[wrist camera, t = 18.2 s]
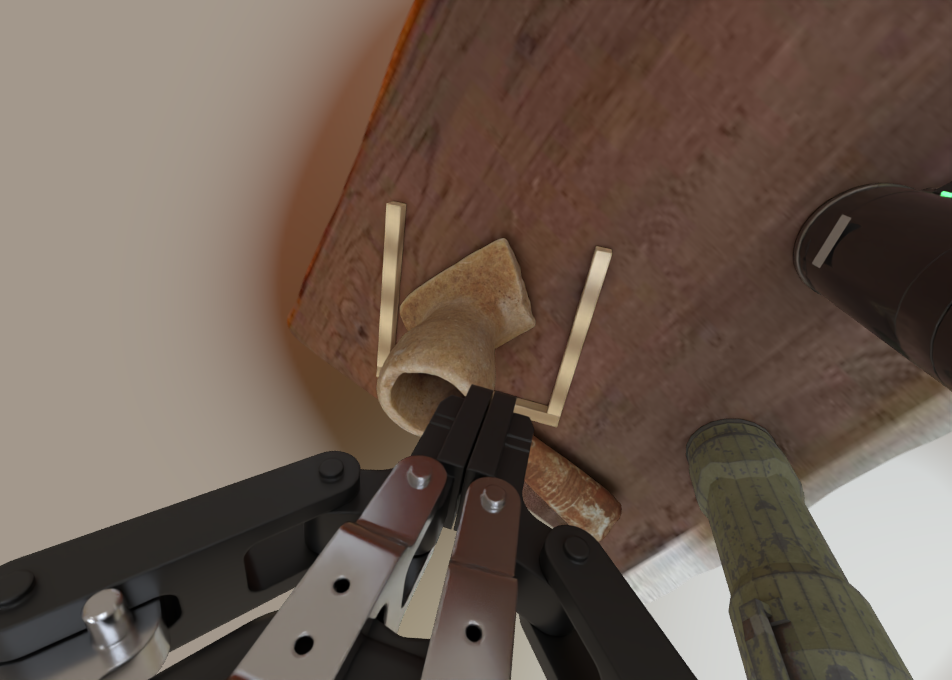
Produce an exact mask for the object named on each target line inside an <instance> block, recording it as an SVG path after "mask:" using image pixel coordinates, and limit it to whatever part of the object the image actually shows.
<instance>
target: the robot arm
mask: <svg viewBox="0 0 952 680" xmlns="http://www.w3.org/2000/svg"><path fill="white" fill-rule="evenodd" d="M793 257H794V265H795V269H796V271H797V274H798V275H799V277H800V279H801V280H802V281H803V282H804V283H805V284H806V285H807V286H808V287H809V288H811V289H812V290H813V291H815V292H816V293H818V294H820V295H822V296H824V297H825V298H826V299H828V300H829V301H830V302H831V303H833V304H834V305H835V306H837V307H838V308H839V309H841V310H842V311H843V312H845V313H846V314H848V315H849V316H850V317H852V318H853V319H854V320H856V321H857V322H858V323H860V324H861V325H862V326H864V327H865V328H866V329H868V330H869V331H870V332H872V333H873V334H875V335H876V336H877V337H879V338H880V339H881V340H883V341H884V342H885V343H887V344H888V345H889V346H891V347H892V348H893V349H895V350H896V351H897V352H899V353H900V354H902V355H903V356H904V357H906V358H907V359H908V360H910V361H911V362H912V363H914V364H915V365H916V366H918V367H919V368H921V369H922V370H923V371H925V372H926V373H927V374H929V375H930V376H932V377H933V378H934V379H936V380H937V381H938V382H940V383H941V384H942V385H944V386H945V387H946V388H948V389H949V390H950V391H952V182H950V183H948V184H946V185H944V186H942V187H940V188H939V189H935V188H927V189H923V190H916V189H914V188H911V187H908V186H903V185H898V184H891V183H875V184H868V185H863V186H859V187H856V188H853V189H850V190H847V191H845V192H843V193H841V194H839V195H837V196H835V197H833V198H832V199H830V200H829V201H827V202H826V203H824V204H823V205H822V206H821V207H819V208H818V209H817V210H816V211H815V212H814V213H813V214H812V215H811V216H810V217H809V219H808V220H807V221H806V222H805V224H804V225H803V227H802V229H801V231H800V232H799V234H798V237H797V239H796V242H795V246H794V254H793ZM493 392H494V390H491V389H488V388H484V387H481V386H477V385H473V384H471V386H470V388H469V390H468V393H467V395H466V397H465V398H461V397H458V396H454V395H450V396H449V397H447V398H446V399H444V400H443V401H441V402H440V403H439V405H438V407H437V409H436V411H435V413H434V415H433V416H432V418H431V420H430V422H429V424H428V425H427V427H426V429H425V431H424V433H423V434H422V436H421V438H420V440H419V442H418V444H417V445H416V447H415V449H414V451H413V453H412V454H411V456H409V457H406V458H404V459H402V460H401V461H399V462H398V463H397V464H396V466H395V467H394V468H392V469H387V470H364V469H363V470H362V469H360V465H359V463H358V461H357V460H356V459H355V458H354V457H353V456H352V455H350V454H348V453H345V452H341V451H329V452H324V453H320V454H317V455H315V456H311V457H309V458H306V459H303V460H300V461H297V462H295V463H292V464H289V465H286V466H283V467H280V468H277V469H274V470H271V471H268V472H265V473H263V474H260V475H257V476H254V477H251V478H248V479H245V480H242V481H240V482H237V483H234V484H231V485H228V486H225V487H223V488H219V489H217V490H214V491H211V492H208V493H205V494H202V495H199V496H196V497H194V498H191V499H188V500H185V501H182V502H179V503H176V504H173V505H171V506H168V507H165V508H162V509H159V510H156V511H153V512H150V513H147V514H145V515H142V516H139V517H136V518H133V519H130V520H127V521H124V522H122V523H119V524H116V525H113V526H110V527H107V528H104V529H101V530H99V531H96V532H93V533H90V534H87V535H84V536H81V537H79V538H76V539H73V540H70V541H67V542H64V543H61V544H58V545H55V546H52V547H50V548H47V549H44V550H41V551H38V552H35V553H32V554H29V555H27V556H24V557H21V558H18V559H15V560H13V561H10V562H8V563H6V564H3V565H1V566H0V680H511V670H512V657H513V645H514V632H515V621H516V612H517V613H518V614H519V617H520V623H521V626H522V628H523V630H524V632H525V635H526V637H527V639H528V641H529V643H530V645H531V647H532V649H533V651H534V653H535V655H536V658H537V660H538V661H539V664H540V666H541V668H542V670H543V672H544V674H545V676H546V678H547V680H697V678H696V677H695V675H694V674H693V673H692V672H691V670H690V668H689V667H688V666H687V665H686V663H685V662H684V660H683V659H682V657H681V656H680V655H679V653H678V652H677V650H676V649H675V648H674V646H673V645H672V644H671V642H670V641H669V639H668V638H667V637H666V635H665V634H664V632H663V631H662V630H661V628H660V627H659V626H658V624H657V623H656V621H655V620H654V619H653V617H652V616H651V614H650V613H649V612H648V611H647V609H646V608H645V606H644V605H643V603H642V602H641V601H640V599H639V598H638V596H637V595H636V594H635V592H634V591H633V590H632V588H631V587H630V585H629V584H628V583H627V581H626V580H625V578H624V577H623V576H622V574H621V573H620V572H619V570H618V569H617V567H616V566H615V565H614V563H613V562H612V560H611V559H610V558H609V556H608V555H607V553H606V552H605V551H604V549H603V548H602V547H601V545H600V544H599V542H598V541H597V540H596V539H595V538H594V537H593V536H592V535H591V534H589V533H588V532H587V531H585V530H583V529H581V528H579V527H576V526H572V525H560V526H557V527H554V528H553V529H551V528H550V527H548V526H547V525H545V524H544V523H542V522H541V521H539V520H538V519H536V518H535V517H534V516H533V515H532V514H531V513H530V512H529V510H528V509H527V507H526V506H525V503H524V501H523V497H522V489H523V484H524V479H525V474H526V469H527V463H528V458H529V453H530V448H531V442H532V438H533V433H534V428H533V425H532V422H531V419H530V417H528V416H525V415H521V414H518V413H514V408H515V404H516V400H517V397H516V396H513V395H509V394H506V393H502V392H499V391H495V393H494V395H493ZM492 397H493V398H492ZM457 511H458V512H457ZM456 514H457V517H456ZM455 517H456V521H455V526H454V530H455V531H457V533H456V538H455V542H454V546H453V550H452V554H451V558H450V561H449V565H448V570H447V573H446V577H445V581H444V586H443V590H442V594H441V598H440V602H439V607H438V610H437V615H436V619H435V623H434V627H433V631H432V635H431V639H421V638H406V637H402V636H399V635H398V634H397V633H398V629H399V626H400V624H401V621H402V618H403V616H404V613H405V611H406V609H407V607H408V605H409V603H410V600H411V599H412V597H413V594H414V592H415V590H416V588H417V586H418V583H419V581H420V579H421V577H422V575H423V573H424V571H425V569H426V567H427V565H428V562H429V560H430V558H431V556H432V554H433V551H434V546H435V545H436V543H437V541H438V538H439V536H440V533H441V530H442V528H443V527H445V528H448V529H451V528H452V526H453V523H454V520H455ZM294 587H295V589H294V590H293V591H292V593H291V594H290V596H289V597H288V598H287V600H286V601H285V602H284V604H283V605H282V606H281V608H280V609H279V610H277V611H274V612H271V613H268V614H265V615H263V616H261V617H258V618H256V619H254V620H252V621H250V622H249V623H247V624H245V625H243V626H241V627H240V628H238V629H236V630H234V631H233V632H231V633H229V634H228V635H226V636H224V637H222V638H220V639H219V640H217V641H215V642H213V643H212V644H210V645H208V646H206V647H204V648H202V649H201V650H199V651H197V652H196V653H194V654H192V655H190V656H188V657H187V658H185V659H183V660H181V661H180V662H178V663H176V664H174V665H172V666H171V667H169V668H167V669H165V670H164V671H162V672H160V673H158V674H157V672H158V671H159V670H160V669H161V667H162V665H163V664H164V662H165V660H166V658H167V656H168V653H169V652H171V651H172V650H175V649H176V648H179V647H181V646H182V645H184V644H186V643H188V642H190V641H192V640H194V639H196V638H198V637H200V636H202V635H204V634H206V633H207V632H209V631H211V630H213V629H215V628H217V627H219V626H221V625H223V624H225V623H227V622H229V621H231V620H233V619H235V618H236V617H239V616H240V615H242V614H244V613H246V612H248V611H250V610H252V609H254V608H256V607H258V606H260V605H262V604H263V603H265V602H268V601H269V600H271V599H273V598H275V597H277V596H279V595H281V594H283V593H285V592H287V591H289V590H291V589H293V588H294ZM156 674H157V675H156Z"/></svg>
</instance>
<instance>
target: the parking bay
mask: <svg viewBox="0 0 952 680" xmlns="http://www.w3.org/2000/svg"><path fill="white" fill-rule="evenodd" d="M405 216H406V204H404V203H399V202H395V201H392V202H389V203H387V207H386V224H385V241H384V259H383V276H382V293H381V310H380V327H379V344H378V362H377V377H379V373H380V370H381V368H382V366H383V364H384V362H385V360H386V359H387V357H388V355H389V353H390V352H391V350H392V349H393V348H394V347H395V342H396V329H397V316H398V304H399V291H400V279H401V266H402V254H403V241H404V229H405ZM611 256H612V250H611V249H607V248H603V247H598V246H596V248H595V251H594V254H593V258H592V261H591V264H590V268H589V271H588V274H587V278H586V281H585V284H584V288H583V291H582V294H581V298H580V301H579V304H578V308H577V311H576V314H575V318H574V321H573V324H572V328H571V331H570V334H569V338H568V341H567V344H566V348H565V351H564V354H563V358H562V361H561V365H560V368H559V371H558V375H557V378H556V381H555V385H554V388H553V391H552V395H551V398H550V401H549V405H548V406H546V405H542V404H539V403H535V402H531V401H528V400H524V399H520V398H517V400H516V404H515V408H514V413H518V414H521V415H525V416H528V417H530V419H531V420H532V421H536V422H540V423H543V424H547V425H550V426H554V427H557V425H558V422H559V419H560V415H561V412H562V409H563V406H564V403H565V400H566V397H567V394H568V390H569V387H570V384H571V381H572V378H573V375H574V372H575V369H576V365H577V362H578V359H579V356H580V353H581V350H582V347H583V344H584V341H585V337H586V334H587V331H588V328H589V325H590V322H591V319H592V316H593V313H594V309H595V306H596V303H597V300H598V297H599V294H600V291H601V288H602V284H603V281H604V278H605V275H606V272H607V269H608V266H609V263H610V260H611ZM494 393H495V391H494V392H493V395H494ZM492 398H493V397H492Z"/></svg>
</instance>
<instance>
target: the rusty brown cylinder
mask: <svg viewBox="0 0 952 680" xmlns="http://www.w3.org/2000/svg"><path fill="white" fill-rule="evenodd" d="M524 481H525V482H526V483H527V484H528V485H529V486H530V487H531V488H532V489H533V490H534V491H535V492H536V493H537V494H538V495H539V496H540V497H541V498H542V499H543V500H544V501H545V502H546V503H547V504H548V505H549V506H550V507H551V508H552V509H553V510H554V511H556V512H557V513H558V514H559V515H560V516H561V517H562V518H563V519H564V520H565V521H566V522H567V523H568V524H569V525H572V526H576V527H579V528H581V529H583V530H585V531H587V532H588V533H589V534H591V535H592V536H593V537H594V538H595V539H596V540H597V541H598V542H599V541H601V540H602V539H604V538H605V537H606V535H607V534H608V533H609V531H610V530H611V528H612V526H613V524H614V523H615V522H617V521H618V520H619V518H620V515H621V510H622V508H621V504H620V503H619V502H618V501H617V500H616V498H615V497H614V496H613V495H612V494H611V493H610V492H608V491H607V490H606V489H605V488H603V487H602V486H601V485H600V484H599V483H597V482H596V481H595V480H593V479H592V478H591V477H590V476H588V475H587V474H586V473H585V472H583V471H582V470H580V469H579V468H578V467H577V466H575V465H574V464H572V463H571V462H570V461H568V460H567V459H566V458H564V457H563V456H562V455H560V454H559V453H557V452H556V451H554V450H553V449H552V448H550V447H549V446H547V445H546V444H544V443H543V442H542V441H540V440H539V439H538V438H536V437H535V436H534V435H533V438H532V442H531V448H530V453H529V458H528V463H527V469H526V474H525V479H524Z"/></svg>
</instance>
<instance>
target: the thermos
mask: <svg viewBox="0 0 952 680" xmlns="http://www.w3.org/2000/svg"><path fill="white" fill-rule="evenodd" d="M686 457H687V460H688V463H689V474H690V477H691V481H692V485H693V488H694V492H695V496H696V499H697V502H698V504H699V507H700V510H701V511H702V512H703V513H704V514H705V516H706V517H707V518H708V519H709V523H710V526H711V529H712V533H713V536H714V540H715V543H716V546H717V550H718V553H719V557H720V560H721V564H722V567H723V570H724V574H725V577H726V581H727V584H728V587H729V591H730V594H731V598H730V604H729V615H730V619H731V622H732V626H733V629H734V633H735V637H736V640H737V644H738V647H739V651H740V655H741V658H742V661H743V665H744V669H745V673H746V676H747V680H913V678H912V676H911V675H910V673H909V671H908V669H907V668H906V666H905V664H904V663H903V661H902V659H901V657H900V656H899V654H898V652H897V650H896V649H895V647H894V645H893V644H892V642H891V640H890V638H889V637H888V635H887V633H886V632H885V630H884V628H883V626H882V624H881V623H880V621H879V620H878V618H877V616H876V614H875V612H874V611H873V609H872V607H871V605H870V604H869V602H868V601H867V600H866V599H865V598H864V597H863V596H862V595H861V594H860V592H859V591H857V589H855V588H854V587H853V586H852V585H851V584H849V582H848V580H847V578H846V577H845V575H844V573H843V571H842V569H841V568H840V566H839V564H838V562H837V561H836V559H835V557H834V555H833V554H832V552H831V550H830V548H829V546H828V544H827V543H826V541H825V539H824V537H823V535H822V534H821V532H820V530H819V528H818V526H817V525H816V523H815V521H814V519H813V517H812V516H811V514H810V512H809V510H808V509H807V507H806V505H805V503H804V492H803V488H802V485H801V482H800V481H799V479H798V477H797V475H796V474H795V472H794V470H793V468H792V467H791V465H790V463H789V462H788V460H787V458H786V456H785V455H784V453H783V452H782V451H781V450H780V449H779V448H778V446H777V445H776V443H775V441H774V439H773V438H772V436H771V435H770V434H769V433H768V432H767V431H766V429H764V428H762V427H761V426H759V425H757V424H756V423H753V422H750V421H746V420H742V419H723V420H719V421H714V422H711V423H709V424H707V425H705V426H703V427H701V428H699V429H698V430H697V431H696V432H695V433H694V434H693V435H692V436H691V437H690V439H689V441H688V443H687V445H686Z"/></svg>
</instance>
